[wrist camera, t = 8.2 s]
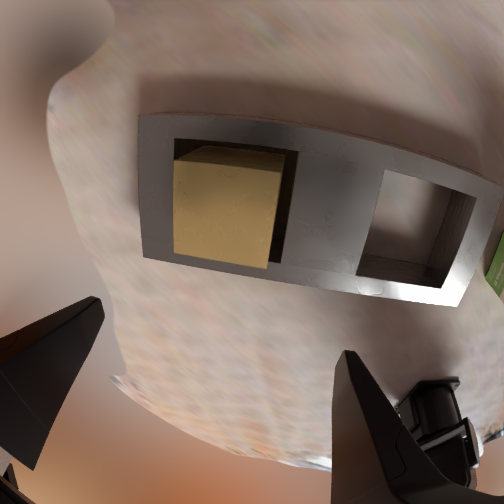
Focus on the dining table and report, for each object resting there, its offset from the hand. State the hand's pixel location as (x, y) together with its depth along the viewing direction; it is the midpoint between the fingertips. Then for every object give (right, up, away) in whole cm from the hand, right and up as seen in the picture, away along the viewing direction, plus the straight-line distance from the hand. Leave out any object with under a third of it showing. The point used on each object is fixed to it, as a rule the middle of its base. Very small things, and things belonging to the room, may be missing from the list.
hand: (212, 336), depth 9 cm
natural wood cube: (+1, +7, +9) cm, 11 cm away
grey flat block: (+6, +6, +8) cm, 12 cm away
